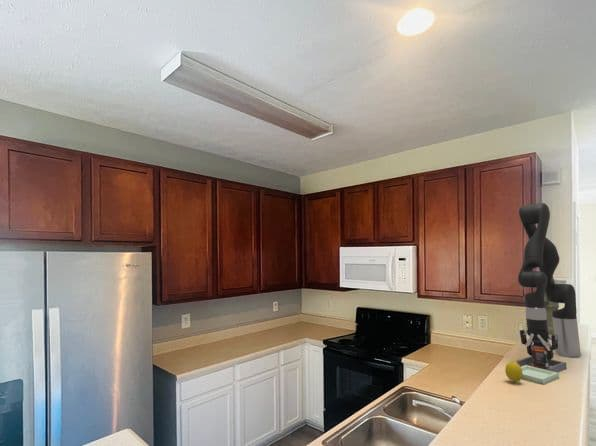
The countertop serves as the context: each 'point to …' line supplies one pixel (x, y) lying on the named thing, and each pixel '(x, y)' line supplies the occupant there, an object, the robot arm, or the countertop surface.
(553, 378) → the tray
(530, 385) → the countertop surface
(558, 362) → the holder
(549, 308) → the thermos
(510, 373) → the lemon
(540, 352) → the supplement bottle
